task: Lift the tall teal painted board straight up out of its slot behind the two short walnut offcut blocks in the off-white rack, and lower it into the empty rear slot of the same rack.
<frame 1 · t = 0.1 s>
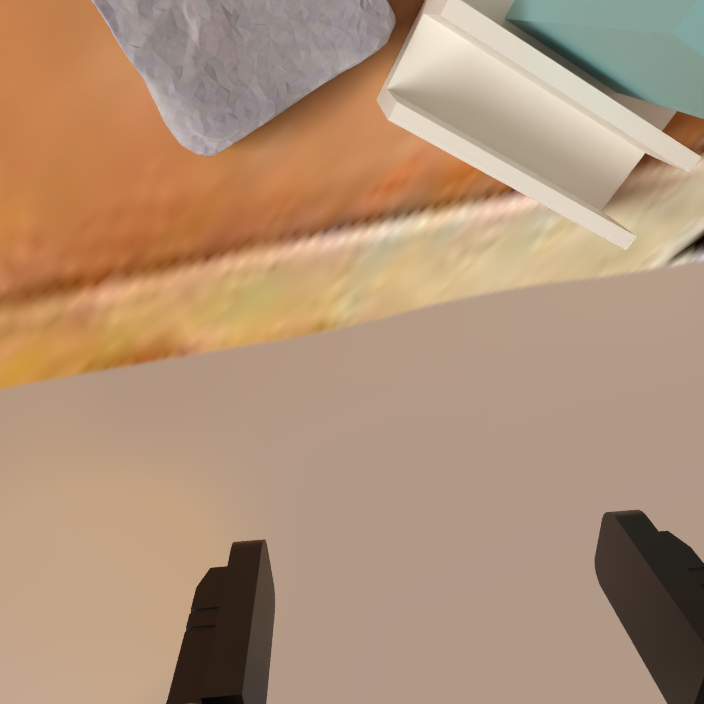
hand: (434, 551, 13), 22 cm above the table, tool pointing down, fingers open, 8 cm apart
rack: (567, 28, 26), on the table
sheet: (576, 35, 25), point 1 cm above the table, touching rack
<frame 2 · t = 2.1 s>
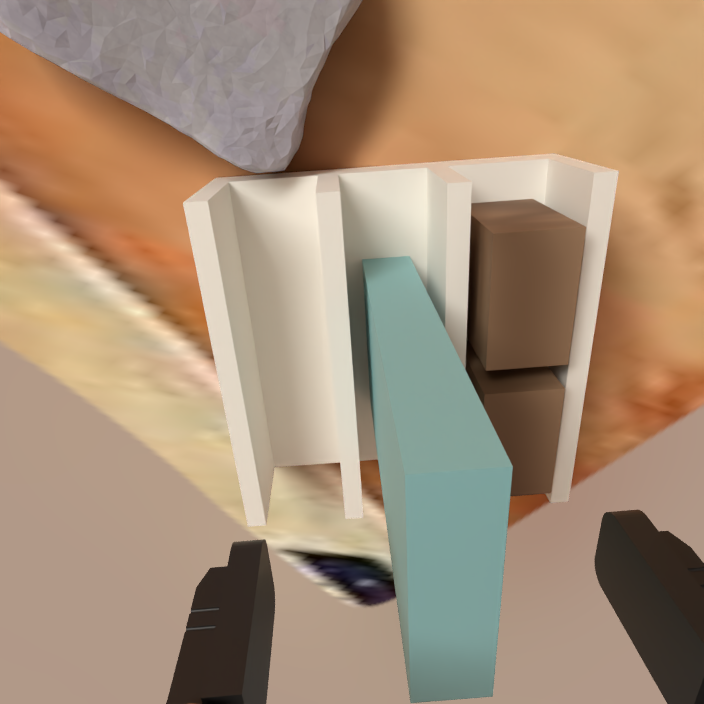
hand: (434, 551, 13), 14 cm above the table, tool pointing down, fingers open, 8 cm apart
offcut b: (485, 383, 25), point 1 cm above the table, touching rack
rack: (390, 319, 25), on the table
sheet: (388, 333, 24), point 1 cm above the table, touching rack
offcut a: (492, 261, 23), point 1 cm above the table, touching rack
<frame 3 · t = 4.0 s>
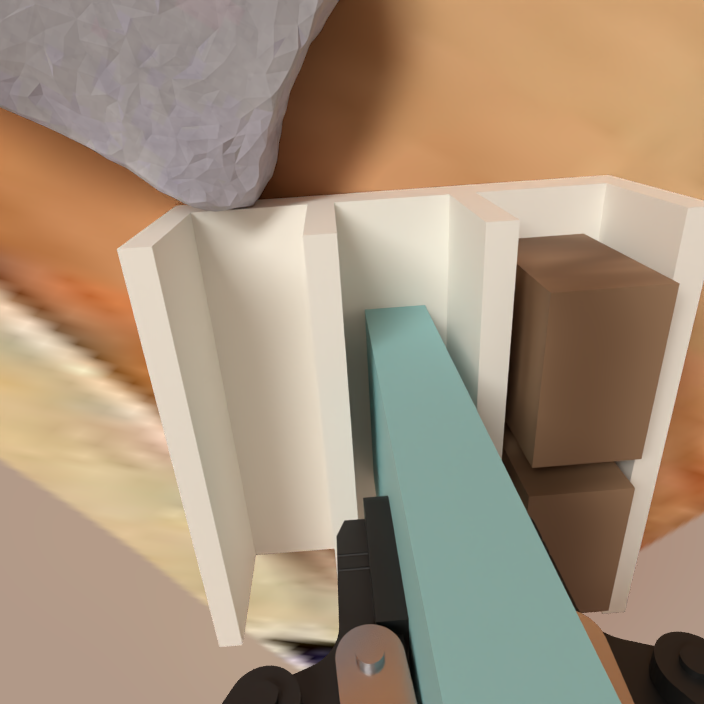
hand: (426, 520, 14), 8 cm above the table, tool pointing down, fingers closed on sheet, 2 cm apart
offcut b: (516, 456, 20), point 1 cm above the table, touching rack
rack: (398, 377, 20), on the table
sheet: (397, 398, 19), point 2 cm above the table, touching gripper, rack
offcut a: (529, 310, 18), point 1 cm above the table, touching rack
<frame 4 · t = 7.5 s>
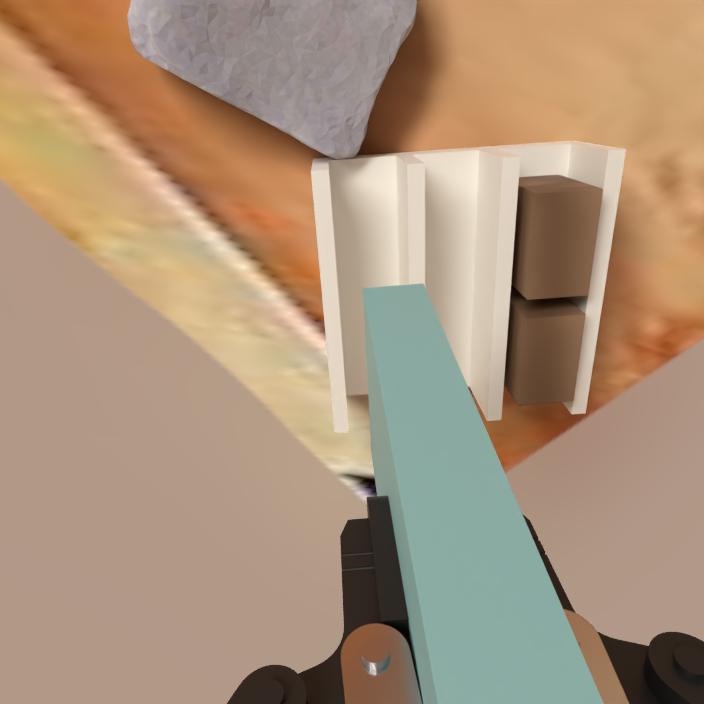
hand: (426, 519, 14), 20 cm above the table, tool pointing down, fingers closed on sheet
offcut b: (518, 324, 32), point 1 cm above the table, touching rack
rack: (442, 274, 32), on the table
stone block: (286, 11, 26), on the table
sheet: (394, 374, 19), point 13 cm above the table, tilted 5°, touching gripper
offcut a: (526, 223, 29), point 1 cm above the table, touching rack
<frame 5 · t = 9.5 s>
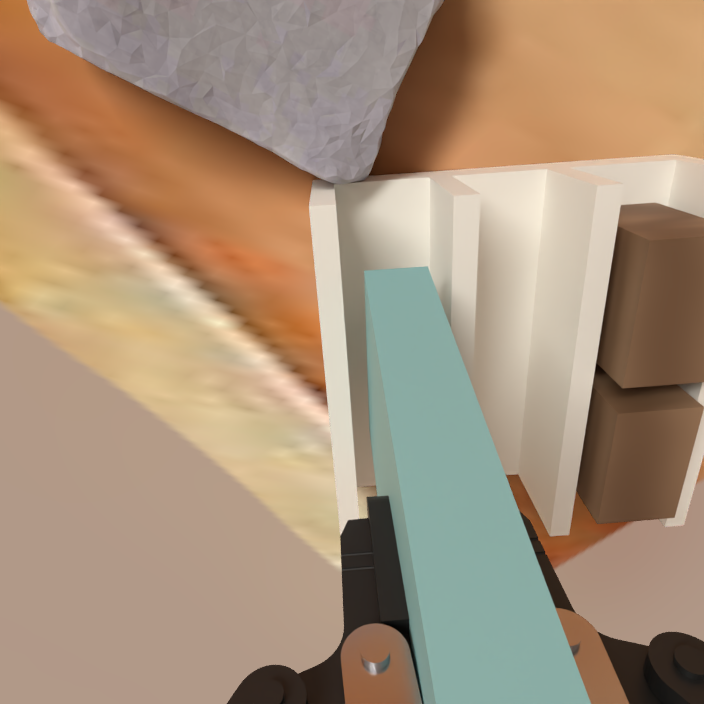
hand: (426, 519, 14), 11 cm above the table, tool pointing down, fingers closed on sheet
offcut b: (586, 398, 24), point 1 cm above the table, touching rack
rack: (485, 330, 24), on the table
sheet: (395, 357, 19), point 5 cm above the table, tilted 11°, touching gripper
offcut a: (606, 269, 21), point 1 cm above the table, touching rack
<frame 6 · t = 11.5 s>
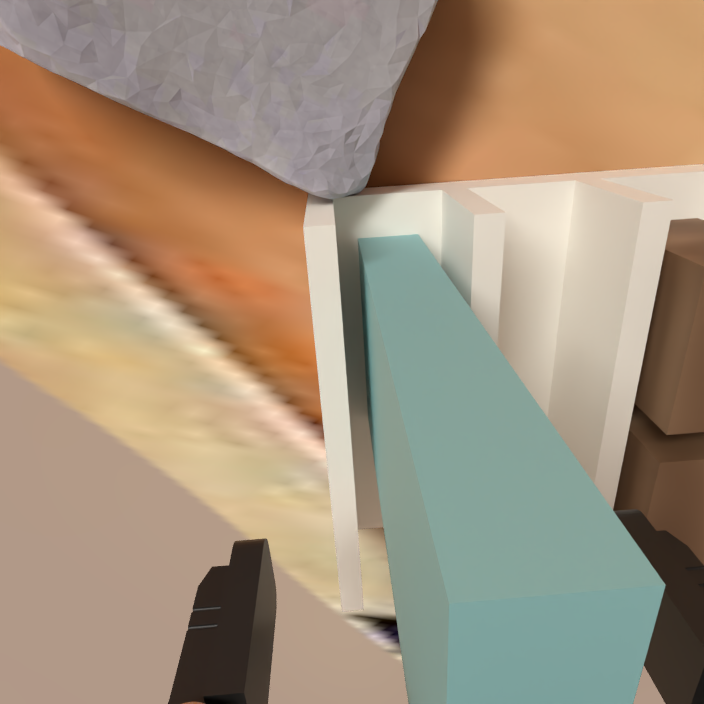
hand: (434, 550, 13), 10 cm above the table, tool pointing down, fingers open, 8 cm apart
offcut b: (613, 433, 21), point 1 cm above the table, touching rack
rack: (501, 358, 21), on the table
sheet: (391, 333, 19), point 2 cm above the table, touching rack
offcut a: (639, 292, 19), point 1 cm above the table, touching rack
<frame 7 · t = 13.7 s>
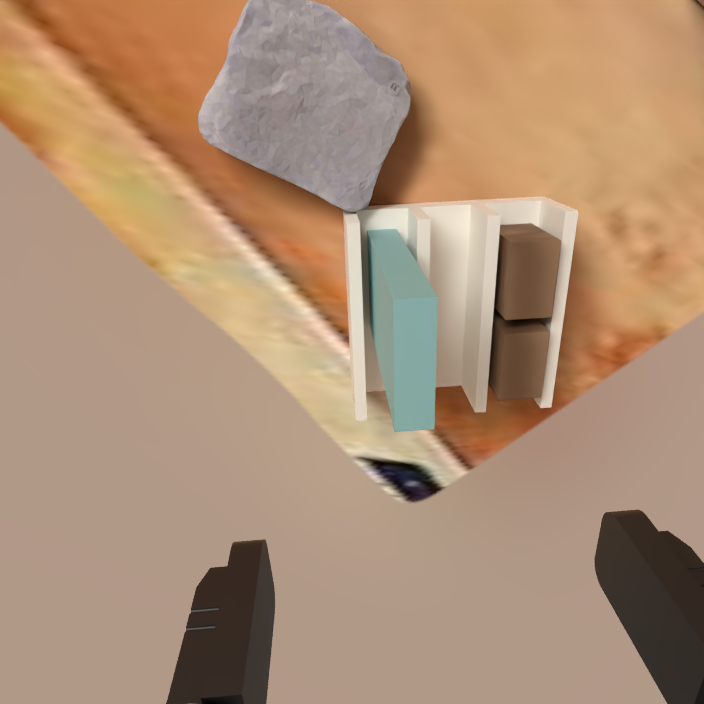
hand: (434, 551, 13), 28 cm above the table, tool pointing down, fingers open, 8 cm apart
offcut b: (500, 337, 40), point 1 cm above the table, touching rack
rack: (441, 296, 40), on the table
stone block: (312, 101, 34), on the table
sheet: (382, 278, 38), point 1 cm above the table, touching rack
offcut a: (506, 259, 38), point 1 cm above the table, touching rack
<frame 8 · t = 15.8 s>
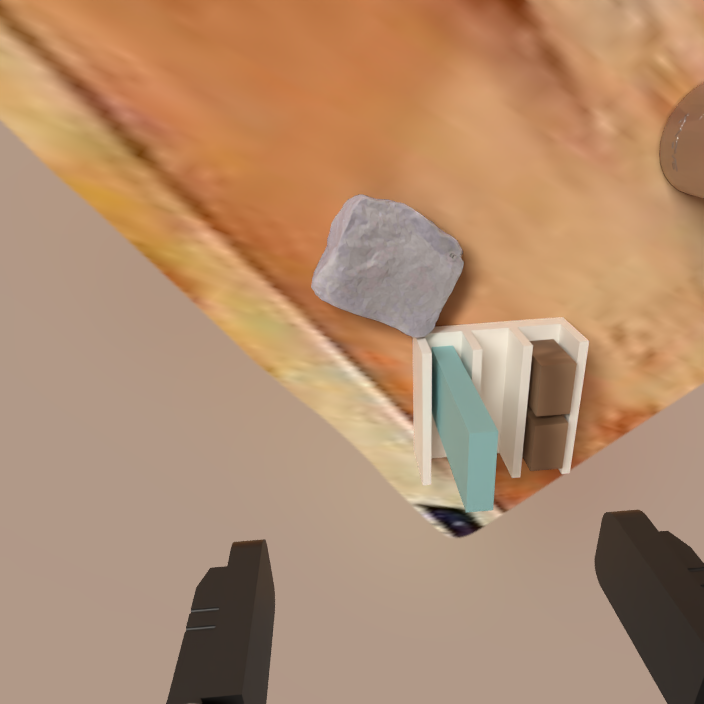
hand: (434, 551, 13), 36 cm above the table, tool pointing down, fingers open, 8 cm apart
offcut b: (529, 417, 53), point 1 cm above the table, touching rack
rack: (484, 387, 53), on the table
stone block: (389, 257, 47), on the table
sheet: (441, 379, 50), point 1 cm above the table, touching rack
offcut a: (535, 364, 50), point 1 cm above the table, touching rack
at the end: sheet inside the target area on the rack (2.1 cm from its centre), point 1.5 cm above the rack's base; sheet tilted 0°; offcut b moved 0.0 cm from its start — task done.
